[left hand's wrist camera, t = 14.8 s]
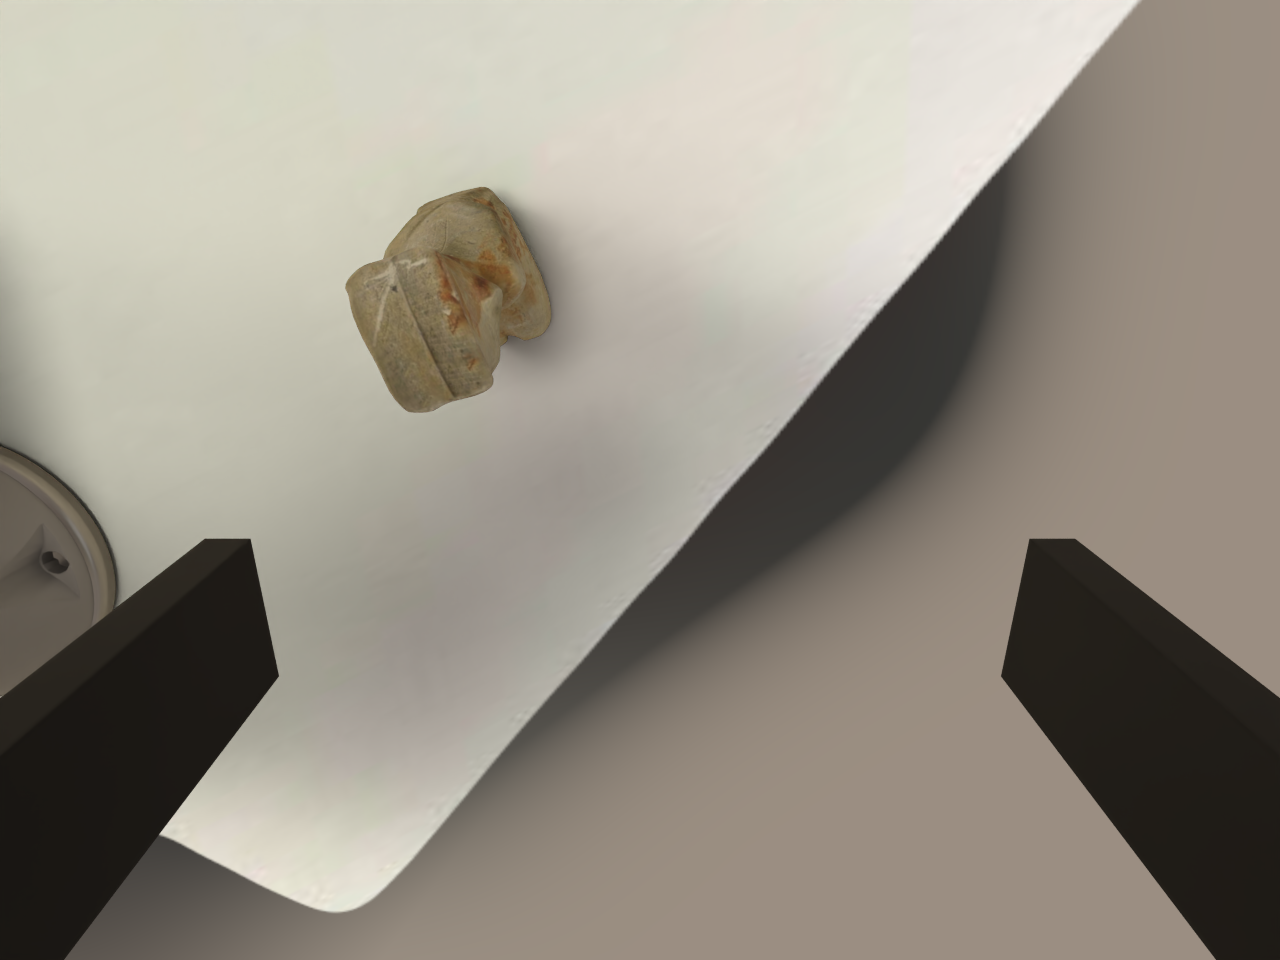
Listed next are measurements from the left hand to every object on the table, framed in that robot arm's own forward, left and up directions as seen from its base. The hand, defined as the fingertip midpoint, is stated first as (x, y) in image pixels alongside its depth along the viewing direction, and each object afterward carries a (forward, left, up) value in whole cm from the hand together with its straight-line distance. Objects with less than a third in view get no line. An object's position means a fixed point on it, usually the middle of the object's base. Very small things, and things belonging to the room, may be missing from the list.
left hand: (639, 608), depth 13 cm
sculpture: (-2, +8, -27) cm, 28 cm away
